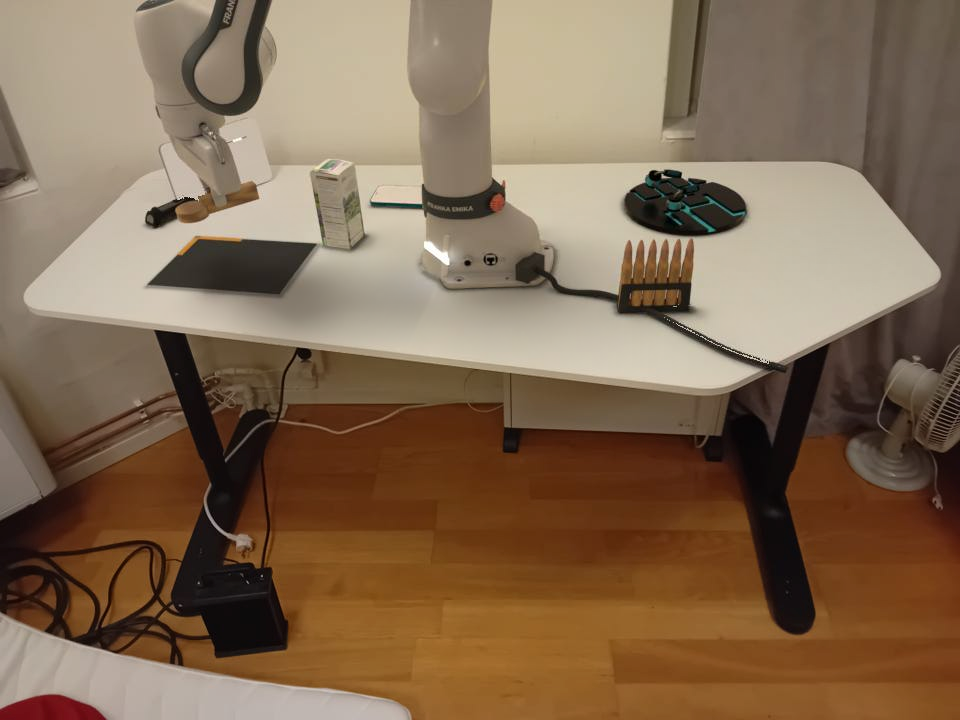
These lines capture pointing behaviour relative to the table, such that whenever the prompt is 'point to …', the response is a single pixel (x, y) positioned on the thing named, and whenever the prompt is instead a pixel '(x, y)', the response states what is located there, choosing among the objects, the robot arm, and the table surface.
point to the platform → (683, 205)
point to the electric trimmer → (164, 212)
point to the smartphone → (397, 196)
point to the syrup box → (337, 203)
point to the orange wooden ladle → (205, 205)
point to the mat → (234, 265)
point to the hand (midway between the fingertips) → (216, 201)
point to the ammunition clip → (656, 279)
